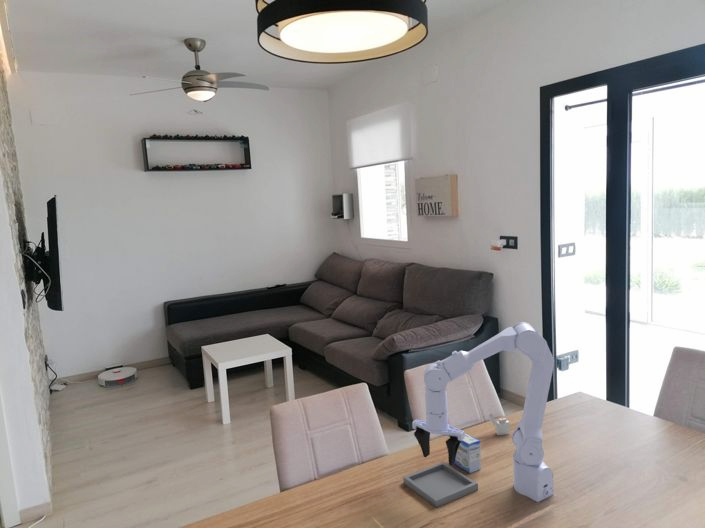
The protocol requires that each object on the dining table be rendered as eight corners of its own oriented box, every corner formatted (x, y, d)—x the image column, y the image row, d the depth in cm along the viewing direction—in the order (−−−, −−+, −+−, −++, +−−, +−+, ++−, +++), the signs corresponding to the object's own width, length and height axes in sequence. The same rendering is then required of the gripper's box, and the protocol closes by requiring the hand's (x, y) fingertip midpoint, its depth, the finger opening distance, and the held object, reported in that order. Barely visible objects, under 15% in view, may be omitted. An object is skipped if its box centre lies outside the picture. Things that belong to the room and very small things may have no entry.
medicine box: (451, 462, 147) (449, 434, 146) (462, 458, 149) (461, 430, 148) (469, 473, 140) (468, 444, 139) (481, 469, 142) (480, 439, 141)
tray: (478, 489, 132) (477, 483, 131) (436, 507, 125) (436, 501, 125) (443, 467, 144) (443, 461, 144) (403, 483, 137) (403, 476, 137)
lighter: (507, 432, 163) (507, 409, 163) (510, 434, 162) (509, 411, 161) (487, 435, 162) (486, 411, 162) (489, 437, 161) (488, 413, 160)
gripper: (468, 410, 131) (470, 459, 132) (420, 400, 140) (423, 446, 141) (456, 420, 125) (458, 471, 127) (407, 408, 134) (409, 457, 136)
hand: (439, 459), depth 133 cm, fingers open, 7 cm apart
